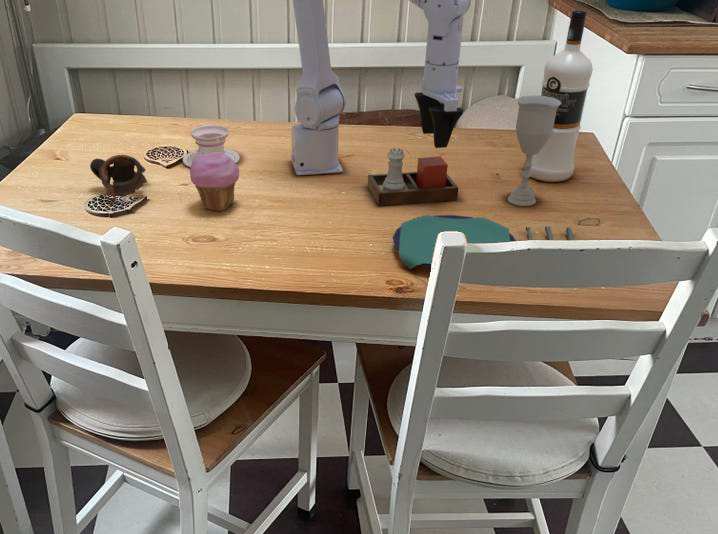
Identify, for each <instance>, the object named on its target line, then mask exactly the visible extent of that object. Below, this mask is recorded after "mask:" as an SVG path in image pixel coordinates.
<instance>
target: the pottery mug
mask: <svg viewBox="0 0 718 534" xmlns="http://www.w3.org/2000/svg"><path fill="white" fill-rule="evenodd" d="M135 167H136V171H135ZM89 168H90V170H91V172H92V174H93V175H94V176H95V177H97V178H98V179H99V180H100V181H101V184H102V186H103V187H105V189H106V192H105V196H106V195H111V196H123V197H127V196H129V195H132V194H134V193H136V190H137V191H138V190H140V188H141V187H142V186H144V184H147V183H148V180H147V178H146V176H145V175H144V173H145V172H146V168H145V167H144V166H143V165H141V162H140V161H138V159H136V158H135V157H133V156H130V155H127V154H116V155H112V156H110V157H109V158H107V159H105V160H104V159H102V158H94V159H93V160H92V161H91V162H90V165H89ZM111 180H112V184H111ZM106 199H107V200H109V201H111V202H113V203H114V202H115V200H116V198H109V197H106Z"/></svg>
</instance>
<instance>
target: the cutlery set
mask: <svg viewBox="0 0 718 534" xmlns="http://www.w3.org/2000/svg"><path fill="white" fill-rule="evenodd" d="M572 230H573V229H572V227H566V229H565V233H566V236H567V239H568V241H569V240H574V241H575V237H574V233H573V231H572ZM444 231H458V232H462V233H464V234H465V236H466V239H467V242H468V243H473V244H474V243H498V242H510V241H516V242H517V240H516V238H515V237H514V235H513V234H511V233H510V229H509V228H508V227H506V226H504V225H502V224H500V223H498V222H496V221H493V220H490V219H488V218H486V217H473V216H463V215H456V214H455V215H454V214H444V215H443V214H441V215H438V214H437V215H428V214H426V215H424V214H423V215H421V216H417V217H414V218H412V219H409V220H405V221H403V222H402V223H400V226H399V227H398V228H397V229H396V230H395V232H394V234H393V236H392V242H393V245H394V249H395V250H396V251H397V252H398V256H399V259H400V260H401V262H402V264H403V265H404V266H405V267H407V268H408V269H409V270H411V269H413V268H414V267H416V266H422V267H426V268H429V269H432V268H431V263H432V257H433V252H434V247H435V242H436V238H437V235H438V233H440V232H444ZM525 231H526V232H527V234H528V240H534V238H533V236H532V233H531V226H526V227H525ZM544 231H545V233H546V236H547V238H548V239H547V240H548V241H549V240H554V237H553V232H552V227H551V226H550V225H549V226H548V225H547V226H546V225H545V227H544Z"/></svg>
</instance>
